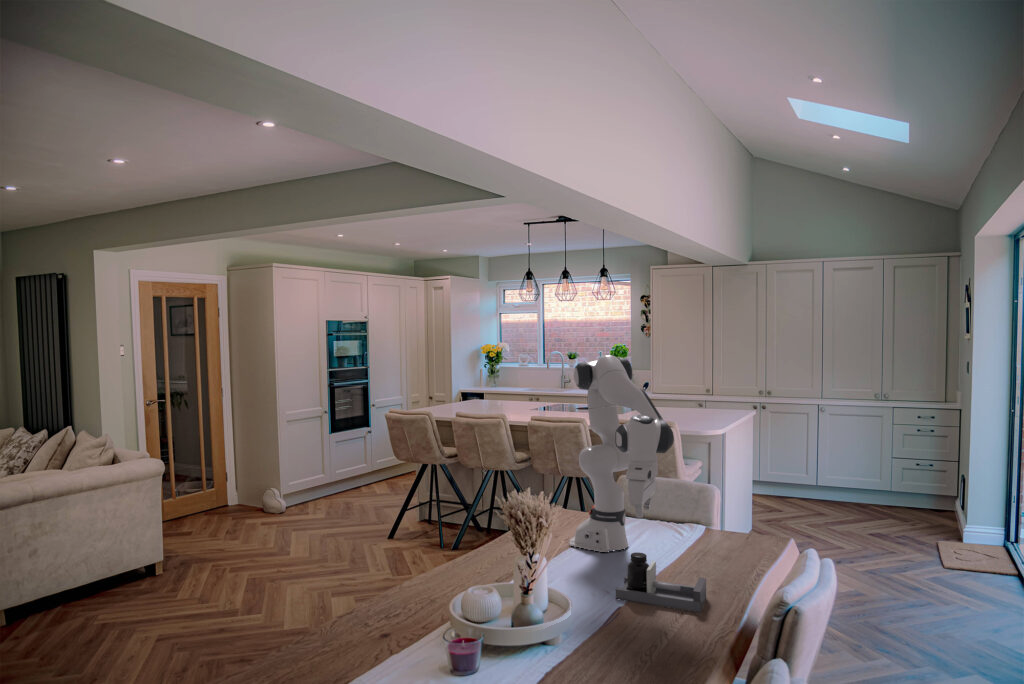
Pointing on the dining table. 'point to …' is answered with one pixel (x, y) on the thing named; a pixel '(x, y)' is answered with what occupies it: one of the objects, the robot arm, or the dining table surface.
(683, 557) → the dining table surface
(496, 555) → the dining table surface
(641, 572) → the supplement bottle
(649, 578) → the pusher
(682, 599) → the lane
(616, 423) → the robot arm
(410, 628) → the dining table surface
